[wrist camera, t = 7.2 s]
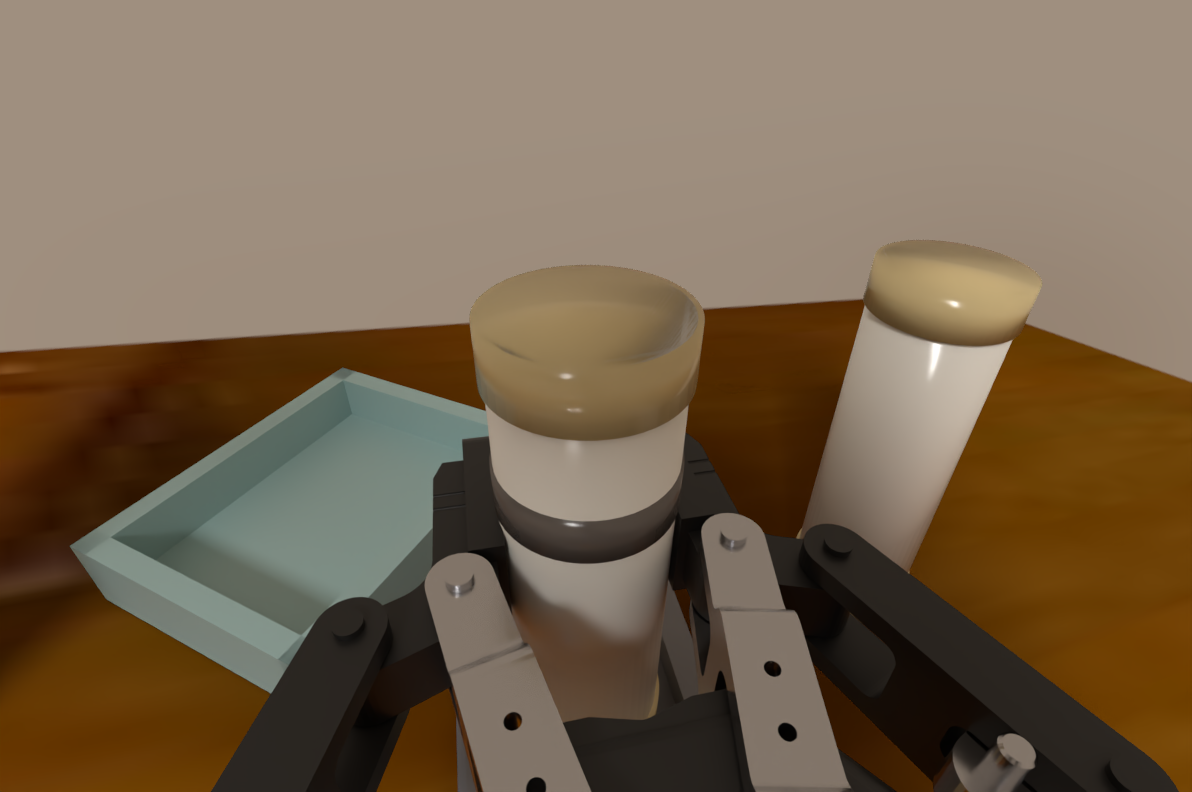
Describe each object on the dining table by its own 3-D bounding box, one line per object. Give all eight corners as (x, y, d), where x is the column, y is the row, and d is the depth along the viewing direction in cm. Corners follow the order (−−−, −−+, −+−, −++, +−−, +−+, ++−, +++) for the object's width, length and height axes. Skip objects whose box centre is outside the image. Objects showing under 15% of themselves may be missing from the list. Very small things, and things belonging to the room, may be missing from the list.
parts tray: (324, 723, 18) (300, 671, 16) (106, 599, 21) (69, 546, 20) (531, 473, 27) (528, 424, 25) (354, 414, 30) (342, 367, 29)
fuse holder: (776, 917, 14) (797, 877, 13) (470, 1002, 13) (457, 968, 12) (654, 576, 22) (659, 528, 21) (458, 609, 21) (448, 560, 20)
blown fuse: (623, 809, 15) (655, 399, 8) (489, 739, 16) (419, 336, 9) (675, 675, 18) (731, 288, 11) (557, 625, 19) (542, 251, 12)
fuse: (895, 640, 20) (1052, 312, 14) (780, 598, 22) (868, 281, 15) (902, 558, 23) (1033, 253, 16) (799, 526, 24) (880, 231, 18)
